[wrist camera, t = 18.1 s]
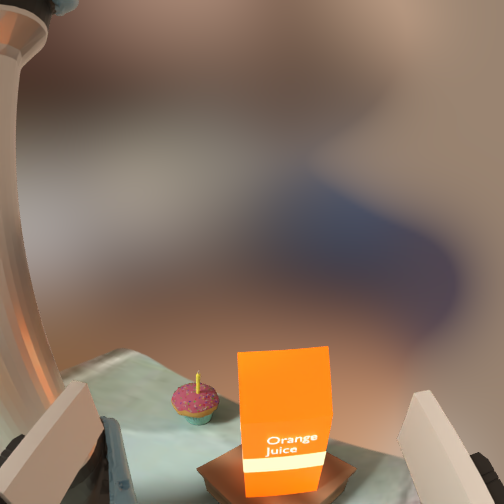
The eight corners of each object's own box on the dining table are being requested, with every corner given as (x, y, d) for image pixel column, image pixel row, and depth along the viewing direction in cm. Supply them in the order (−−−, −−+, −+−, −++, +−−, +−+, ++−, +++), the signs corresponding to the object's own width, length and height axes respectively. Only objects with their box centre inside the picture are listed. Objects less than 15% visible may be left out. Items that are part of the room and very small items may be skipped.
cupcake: (230, 414, 52) (226, 363, 50) (199, 439, 46) (190, 387, 43) (196, 398, 57) (189, 348, 54) (166, 418, 50) (154, 367, 48)
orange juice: (243, 455, 36) (236, 333, 31) (306, 450, 36) (319, 328, 32) (245, 498, 28) (236, 376, 24) (317, 491, 29) (342, 368, 24)
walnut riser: (273, 553, 23) (275, 538, 22) (202, 490, 34) (196, 468, 33) (348, 490, 33) (356, 468, 32) (276, 445, 44) (277, 422, 43)
